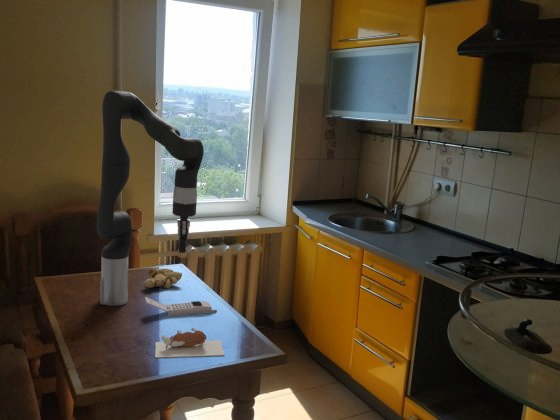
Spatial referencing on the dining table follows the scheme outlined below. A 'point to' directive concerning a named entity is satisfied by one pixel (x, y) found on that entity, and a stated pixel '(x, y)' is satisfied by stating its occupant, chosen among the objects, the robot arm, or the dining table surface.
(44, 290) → the dining table surface
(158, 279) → the ginger root
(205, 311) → the mobile phone
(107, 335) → the dining table surface
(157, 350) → the mat
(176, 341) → the bull figurine
